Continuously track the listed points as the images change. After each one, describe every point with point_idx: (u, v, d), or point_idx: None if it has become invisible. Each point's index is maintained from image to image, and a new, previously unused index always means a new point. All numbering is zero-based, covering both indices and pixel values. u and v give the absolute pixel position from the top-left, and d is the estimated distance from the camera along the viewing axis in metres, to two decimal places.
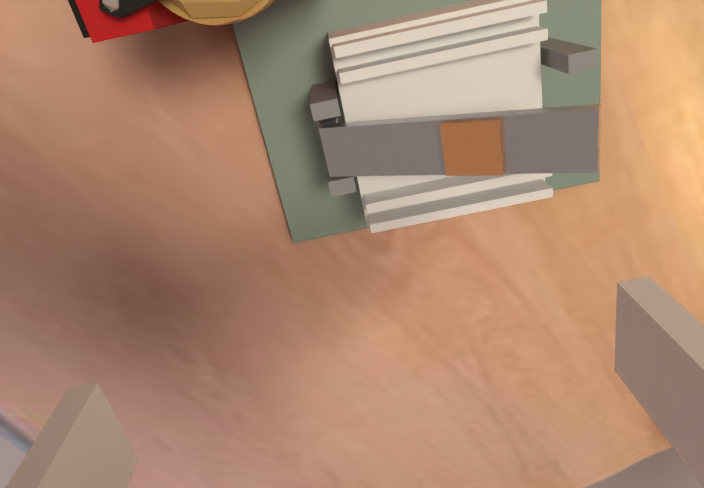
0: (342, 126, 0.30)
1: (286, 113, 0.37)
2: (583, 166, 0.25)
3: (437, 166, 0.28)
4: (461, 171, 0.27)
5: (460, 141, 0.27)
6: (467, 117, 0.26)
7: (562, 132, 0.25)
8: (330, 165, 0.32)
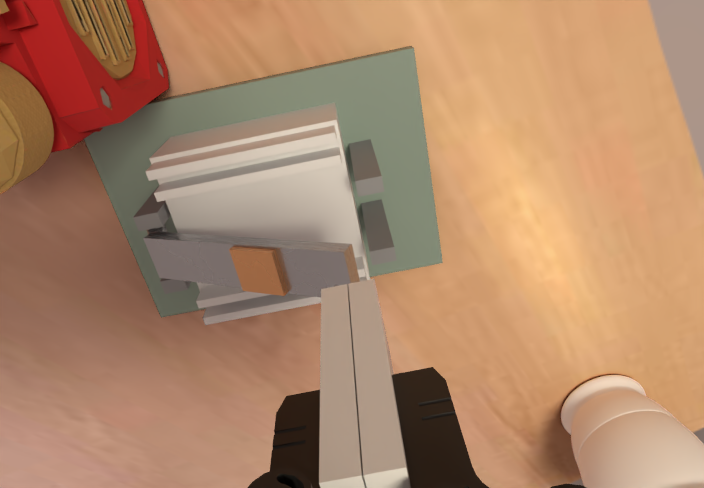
0: (161, 238, 0.33)
1: (140, 206, 0.40)
2: None
3: (237, 280, 0.31)
4: (253, 288, 0.30)
5: (247, 265, 0.30)
6: (252, 244, 0.29)
7: (322, 266, 0.28)
8: (158, 268, 0.35)
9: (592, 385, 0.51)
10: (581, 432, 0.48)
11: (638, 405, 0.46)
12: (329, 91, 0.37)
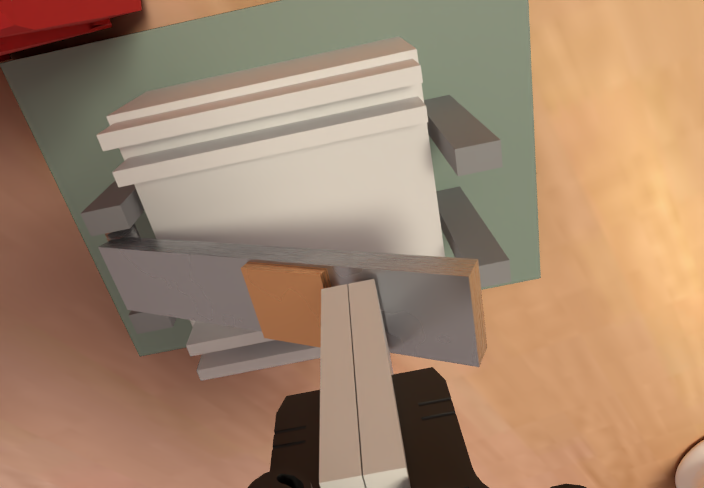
0: (126, 247, 0.20)
1: None
2: (456, 354, 0.15)
3: (254, 319, 0.18)
4: (283, 335, 0.17)
5: (273, 295, 0.17)
6: (282, 259, 0.17)
7: (419, 302, 0.15)
8: (124, 296, 0.22)
9: None
10: None
11: None
12: (391, 17, 0.24)
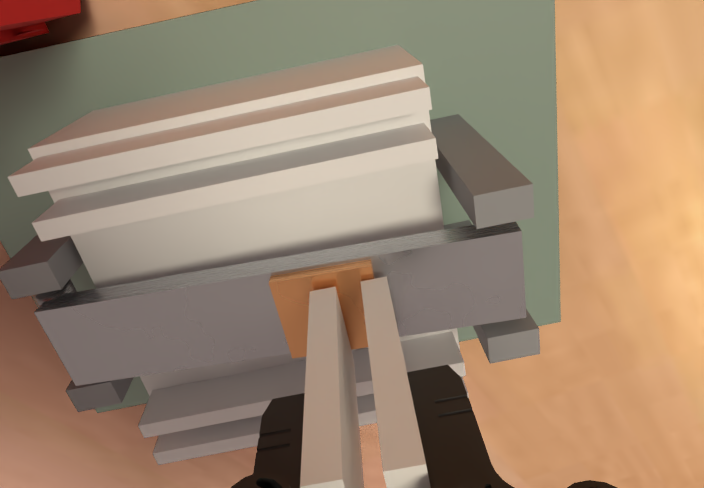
0: (82, 302, 0.16)
1: None
2: (505, 312, 0.16)
3: (273, 343, 0.17)
4: None
5: None
6: (313, 263, 0.15)
7: (470, 269, 0.15)
8: (73, 368, 0.17)
9: None
10: None
11: None
12: (389, 22, 0.20)
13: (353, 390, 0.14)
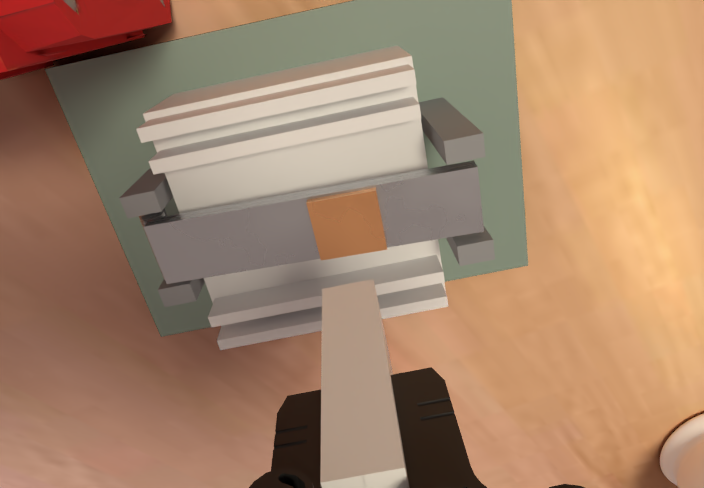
0: (176, 220, 0.23)
1: None
2: (469, 227, 0.23)
3: (307, 250, 0.24)
4: (338, 252, 0.23)
5: (333, 219, 0.23)
6: (336, 190, 0.23)
7: (444, 195, 0.22)
8: (166, 270, 0.24)
9: None
10: (698, 484, 0.37)
11: None
12: (391, 28, 0.27)
13: None
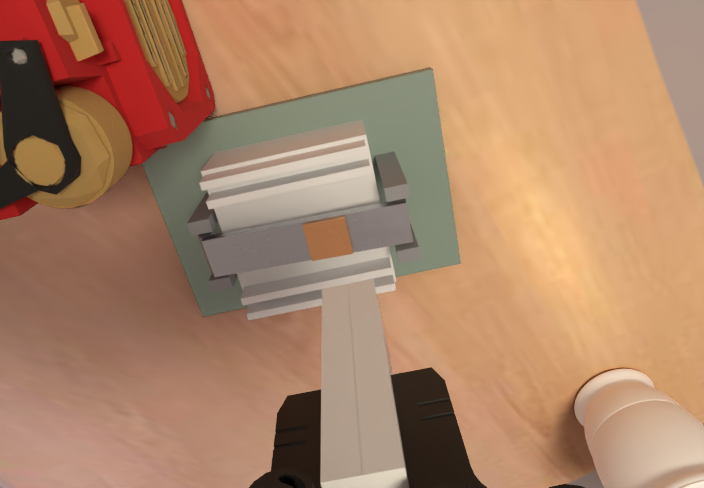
0: (222, 236, 0.38)
1: (186, 214, 0.44)
2: (403, 239, 0.37)
3: (303, 255, 0.38)
4: (323, 256, 0.37)
5: (319, 235, 0.37)
6: (320, 218, 0.37)
7: (386, 220, 0.36)
8: (214, 268, 0.39)
9: (603, 378, 0.54)
10: (593, 422, 0.51)
11: (646, 395, 0.49)
12: (357, 108, 0.41)
13: None
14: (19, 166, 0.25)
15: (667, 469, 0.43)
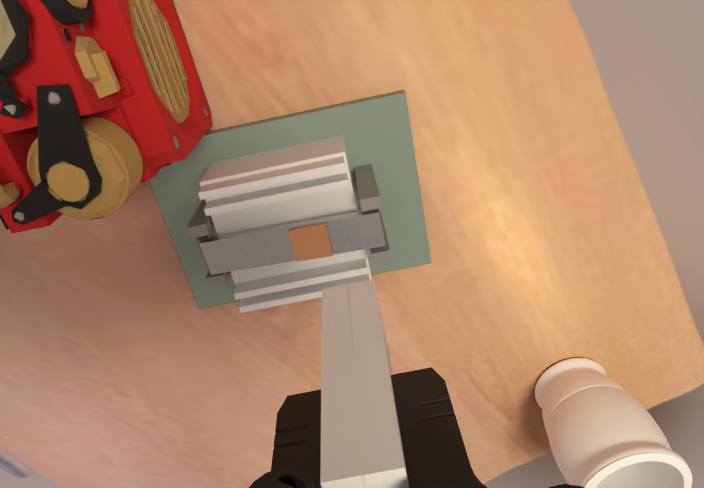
0: (217, 239, 0.43)
1: (185, 217, 0.49)
2: (376, 243, 0.43)
3: (289, 256, 0.43)
4: (306, 257, 0.43)
5: (303, 239, 0.42)
6: (304, 224, 0.42)
7: (362, 226, 0.42)
8: (211, 267, 0.44)
9: (560, 366, 0.60)
10: (549, 405, 0.57)
11: (595, 381, 0.56)
12: (339, 126, 0.46)
13: None
14: (51, 186, 0.30)
15: (607, 446, 0.49)
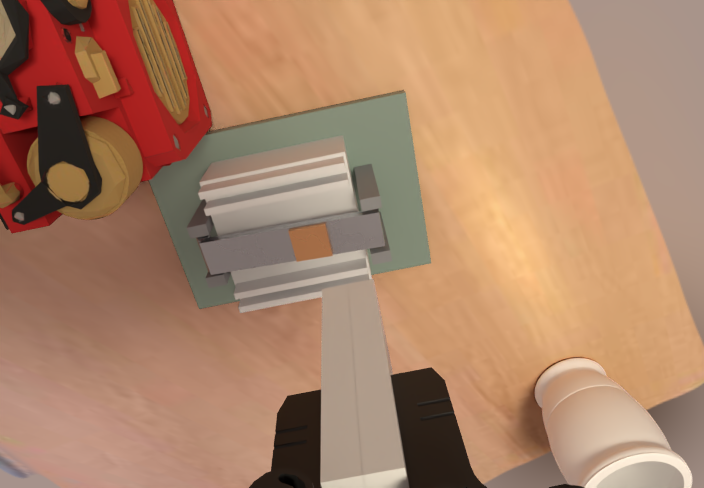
0: (217, 239, 0.43)
1: (185, 217, 0.49)
2: (376, 243, 0.43)
3: (289, 256, 0.43)
4: (306, 257, 0.43)
5: (303, 239, 0.42)
6: (304, 224, 0.42)
7: (362, 226, 0.42)
8: (211, 267, 0.44)
9: (560, 366, 0.60)
10: (549, 405, 0.57)
11: (595, 381, 0.56)
12: (339, 126, 0.46)
13: None
14: (51, 186, 0.30)
15: (607, 445, 0.49)
